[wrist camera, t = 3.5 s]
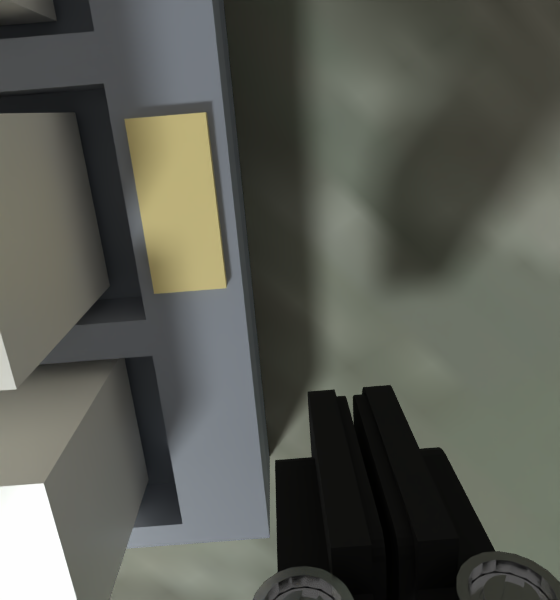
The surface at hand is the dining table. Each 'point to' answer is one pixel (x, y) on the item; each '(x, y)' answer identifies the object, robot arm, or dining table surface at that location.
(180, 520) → the switch bank
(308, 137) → the dining table surface
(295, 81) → the dining table surface
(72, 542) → the tab inner
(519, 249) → the dining table surface
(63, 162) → the tab middle
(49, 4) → the white cube
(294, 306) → the dining table surface
